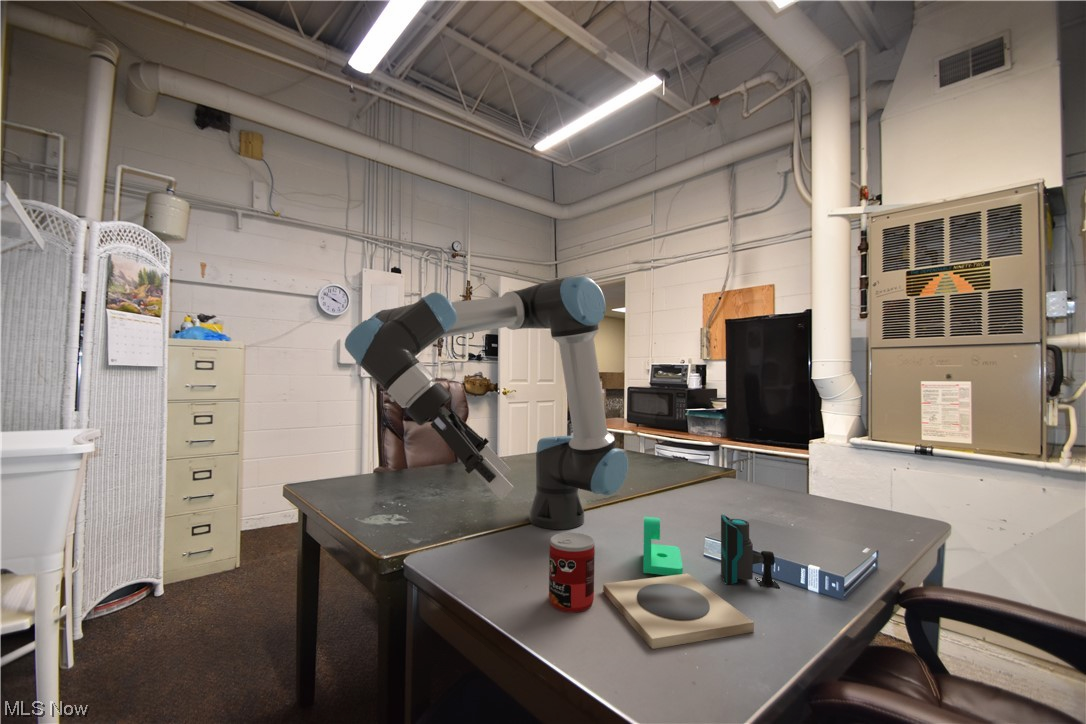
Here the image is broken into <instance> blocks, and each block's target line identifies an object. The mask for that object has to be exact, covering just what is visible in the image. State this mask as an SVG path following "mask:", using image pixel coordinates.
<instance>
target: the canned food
mask: <svg viewBox="0 0 1086 724" xmlns="http://www.w3.org/2000/svg"><path fill="white" fill-rule="evenodd" d="M595 550H596V549H595V539H594V538H593V537H592V536H590V535H588V534H586V533H585V534H584V533H580V532H561V533H557V534H553V535H552V536H551V537H550V539H549V553H548V554H549V555H548V557H549V560H548V561H549V563H548V564H549V565H548V568H549V569H548V571H549V572H548V578H549V579H548V599H549V602H550V604H551V606H552V607H553V608H555V609H556V608H557V609H556V610H558V609H559V610H558V611H561V612H565V611H566V613H579V612H580V611H581V612H584V611H586V610H589V609H590V607H592V605H593V603H594V600H595V599H594V598H595V558H596V557H595V556H596V555H595V554H596V552H595Z"/></svg>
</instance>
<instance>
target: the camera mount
mask: <svg viewBox="0 0 1086 724" xmlns="http://www.w3.org/2000/svg"><path fill="white" fill-rule="evenodd" d="M652 540H658V541H660V540H661V519H660V517H652V516H651V517H650V516H643V565H642V567H643V568H642V569H643V570H642V571H643V574H652V575H654V574H655V575H662V576H671V575H679V574H684V571H683V570H684V566H683V561H682V556H681V550H680V547H678V546H676V545H666V544H654V543H652Z"/></svg>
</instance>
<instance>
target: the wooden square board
mask: <svg viewBox="0 0 1086 724" xmlns="http://www.w3.org/2000/svg"><path fill="white" fill-rule="evenodd" d="M603 591H604V592H603ZM602 592H603V593H604V595H605V594H606V595H607V596H608V597H609V598H608V597H607V596H606V595H605V596H606V597H607V598H608V599H609V601H610V602H611V601H612V602H613V603H614V604H613V603H612V602H611V603H612V604H613V605H614V607H616V608H618V609H617V610H618V611H619V612H620V614H622V615H624V616H623V617H624V618H625V619H626V621H628V622H629V624H630V625H631V626H632V628H633V629H634V630H635V631H636V632H637V633H638V634H639V635H640V637H641V638H642V639H643V640H644V641H645V643H646V644H647V645H648V646H649V647H650V648H651V649H652V650H654V649H659V648H661V649H662V648H666V647H673V646H679V645H683V644H691V643H696V642H701V641H706V640H707V641H708V640H713V639H714V640H715V639H718V638H719V639H720V638H725V637H730V636H737V635H742V634H743V635H744V634H748V633H755V622H754V621H753V620H752V619H750V618H749V617H747V616H746V615H745V614H743V613H742V612H741V611H739V610H738V609H737V608H735V607H734V606H733V605H731V604H730V603H729V602H727V601H726V600H725V599H724V598H722V597H720V596H719V595H718V594H716V593H715V592H714V591H712V590H711V589H709V588H708V587H707V586H705V585H704V584H703V583H701V582H700V581H699V580H697V579H696V578H694V577H693V576H692V575H690V574H689V573H683V574H679V575H671V576H669V575H662V576H656V577H649V578H640V579H639V578H638V579H631V580H624V581H615V582H607V583H603V585H602Z"/></svg>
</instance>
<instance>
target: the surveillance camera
mask: <svg viewBox="0 0 1086 724" xmlns="http://www.w3.org/2000/svg"><path fill="white" fill-rule="evenodd" d="M756 564H757V565H758V564H762V565H763V574H762V577H761V578H762V581H760V580H756V582H757V581H760V582H757V584H758V583H759V584H758V585H760V586H759V587H761V586H767V587H766V588H771V587H776V588H775V589H781V586H780V585H779V583H778V582H777V581H776V580H775V581H776V582H777V583H776V582H775V581H774V582H773V581H772V579H773V577H772V566H774V565H775V554H774V552H772V551H770V550H762V551H760V552H759V551H756V550H754V547H753V543H752V540H751V538H750V522H749V521H747V520H744V519H742V518H741V519H739V518H729V517H728V516H727V515H725V514H720V575H721V574H722V575H721V578H722V577H723V578H722V579H724V580H723V583H724V582H725V583H726V584H725V583H724V584H725V585H732V584H736V583H738V580H744V581H745V580H748V581H749V580H750V581H751V580H753V579H754V578H756V577H757V576H755V577H754V575H753V573H754V570H753V569H754V566H753V565H756ZM753 577H754V578H753ZM757 579H758V578H757ZM777 587H778V588H777Z"/></svg>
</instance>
